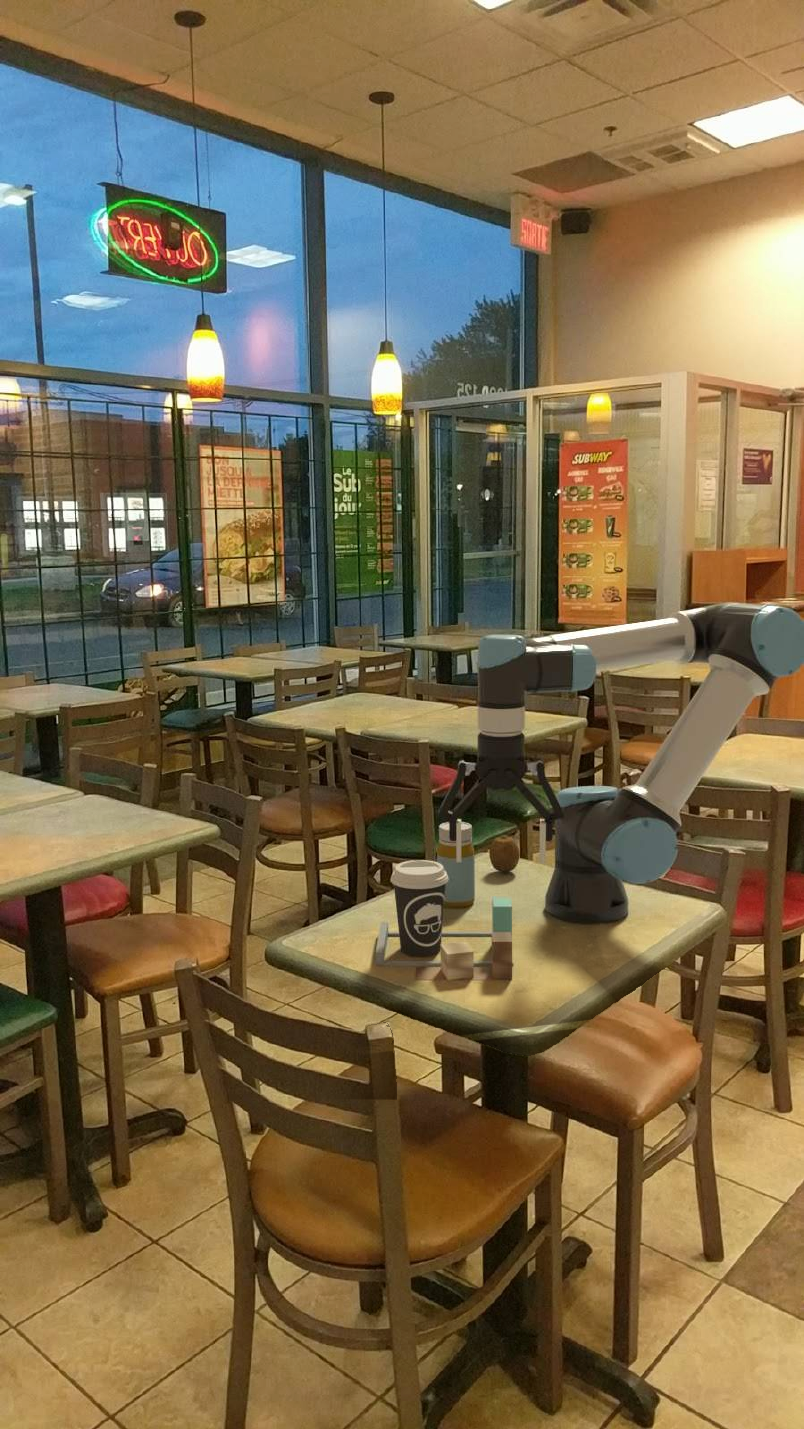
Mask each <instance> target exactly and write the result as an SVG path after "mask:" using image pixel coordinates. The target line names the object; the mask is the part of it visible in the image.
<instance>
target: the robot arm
mask: <svg viewBox="0 0 804 1429" xmlns="http://www.w3.org/2000/svg"><path fill="white" fill-rule="evenodd" d="M477 648H478V649H477V662H476V667H477V699H478V700H477V729H478V731H480V732H479V733H478V734H477V759H476V761H475V762H466V760H464V759H461V760H459V761H458V766H457V774H456V775H455V777H454V779H453V781H452V783H451V785H450V787H449V789H448V790H447V793H446V794H445V797H444V799H443V801H442V802H441V805H440V806H439V808H438V811H437V812H438V813H437V817H438V818H439V819H441V820H446V821H447V822H449V838H450V841H456V858H457V862H461V822H462V818H461V816H462V815H463V814H464V813H465V812H466V810H467V809H468V808H469V807H470V806H471V805H472V804H473V802H475V800H476V799H477V798H478V797H479V795H481V793H483V792H484V791H485V790H486V789H487V788H488V789H490V790H491V791H497V790H504V791H511V790H513V789H515V788H516V789H517V790H518V791H519V793H521V794H522V795H523V796H524V798H525V799H527V800H526V801H528V802H529V803H530V805H531V806H533V807H534V809H535V810H536V811H537V812H538V814H539V815H540V816H541V817H542V818H540V819H539V854H538V858H539V860H540V861H539V862H540V863H543V864H544V863H546V859H547V858H546V857H547V856H546V850H547V848H546V845H547V844H546V842H552V841H553V837H554V870H553V872H552V875H551V878H550V882H549V883H548V884H549V885H548V887H547V890H546V894H545V897H544V904H545V905H544V909H545V911H546V912H547V913H548V914H549V915H550V916H551V917H554V918H557V919H558V920H562V921H567V922H571V923H577V924H578V923H579V924H603V923H605V924H606V923H610V922H615V921H618V920H621V919H623V918H625V917H626V916H627V915H628V913H629V898H628V895H627V891H626V888H625V885H624V883H623V882H624V881H625V882H627V883H630V884H634V885H635V884H637V885H640V884H641V885H642V884H646V883H651V882H654V881H657V880H658V879H660V878H662V877H663V876H664V875H665V874H666V873H667V872H668V871H669V870H670V869H671V867H673V864H674V863H675V861H676V858H677V855H678V850H679V849H678V848H677V845H678V844H679V843H678V837H677V833H678V831H679V830H680V828H681V827H682V820H681V816H680V812H681V809H682V808H683V807H684V805H685V804H686V802H687V801H688V799H689V798H690V796H691V795H692V793H693V791H694V790H695V789H696V787H697V786H698V784H699V782H700V781H701V779H702V778H703V776H704V775H705V774H706V772H707V770H708V769H709V767H710V765H712V762H713V761H714V760H715V758H716V756H717V754H719V752H720V750H721V749H722V748H723V746H724V744H725V743H726V742H727V739H728V738H729V736H730V735H731V734H732V732H733V731H734V729H735V727H736V725H737V724H738V723H739V721H740V720H741V718H742V717H743V715H744V714H745V712H746V711H747V709H748V707H749V706H750V704H751V703H752V701H753V700H754V698H755V697H758V696H762V695H767V694H769V692H770V690H772V688H773V686H774V685H775V683H776V682H777V680H778V678H782V677H783V678H785V677H788V676H790V675H793V674H795V673H797V672H798V671H799V670H800V669H801V668H802V666H804V619H803V618H802V616H800V615H799V614H798V613H797V612H796V611H795V610H793V609H791V608H788V607H784V606H779V605H777V604H773V603H772V604H770V603H769V604H757V603H756V604H755V603H747V602H746V603H745V602H737V601H732V602H731V601H729V602H727V601H726V602H722V603H721V602H720V603H716V604H712V605H707V606H702V607H701V606H700V607H696V608H691V609H686V610H681V611H680V610H679V611H675V612H672V613H670V614H669V616H667V618H664V619H663V618H662V619H656V620H650V621H643V622H641V621H640V622H636V623H635V622H634V623H628V624H621V625H614V626H613V625H612V626H606V627H598V628H593V629H591V628H590V629H585V630H584V629H583V630H577V631H571V632H563V633H562V632H561V633H555V634H549V635H542V636H535V637H526V638H525V637H524V636H523V635H519V634H490V635H485V636H482V637H481V638H480V640H479V642H478V647H477ZM668 661H674V662H675V663H677V664H678V665H679V664H680V665H685V664H692V663H700V664H701V663H703V664H709V668H710V669H709V672H708V673H707V675H706V677H705V678H704V679H703V681H702V683H701V684H700V685H699V688H698V689H697V691H695V693H694V695H693V697H692V698H691V699H690V701H689V702H688V704H687V706H686V707H685V709H684V710H683V712H682V713H681V715H680V716H679V717H678V719H677V721H676V722H675V724H674V726H673V727H672V728H671V730H670V732H669V733H668V734H667V736H666V738H665V739H664V740H663V742H662V743H661V745H660V747H659V748H658V749H657V751H656V753H655V754H654V755H653V757H652V759H651V760H650V762H649V763H648V764H647V766H646V767H645V769H644V771H643V772H642V774H641V775H640V777H639V778H638V780H637V781H636V782H635V784H631V785H627V786H622V788H621V789H619V788H617V787H615V786H607V785H587V786H585V785H583V786H573V787H567V788H563V789H561V790H559V791H558V792H557V794H555V792H554V790H553V788H552V786H551V784H550V782H549V780H548V778H547V776H546V770H545V765H544V764H545V763H543V762H544V761H542V760H541V759H537V760H536V761H535V762H527V761H526V759H525V757H526V756H525V752H526V751H525V749H526V748H525V747H526V746H525V742H526V738H525V737H526V736H525V734H524V733H523V731H524V730H525V729H526V695H527V694H529V695H530V694H540V693H559V692H560V693H562V692H569V693H573V692H577V691H584V690H588V689H589V688H590V687H592V685H594V682H595V680H596V676H597V672H601V671H606V670H607V671H609V670H613V669H620V668H628V667H633V666H640V665H648V664H649V665H650V664H654V663H661V662H668ZM472 771H475V773H476V774H477V776H478V778H479V779H477V781H476V782H475V783H474V785H473V786H472V787H471V788H470V790H469V791H468V792H467V793H466V794H465V795H464V797H462V799H461V800H460V801H459V802H458V803H457V804H456V806H455V807H454V808H453V809H452V810H451V811H450V808H451V806H452V804H453V803H454V800H455V799H456V797H457V794H458V793H459V790H460V788H461V787H462V785H463V783H464V781H465V779H466V778H465V777H467V776H470V775H471V773H472ZM528 771H530V773H531V774H532V775H533V776H535V777H537V779H538V781H539V784H540V786H541V788H542V789H543V791H544V794H545V795H546V797H547V799H548V801H549V803H550V805H551V807H552V809H553V810H551V811H550V810H549V809H548V808H547V807H546V805H545V804H543V802H542V801H541V800H540V799H539V798H538V796H537V795H536V794H535V793H534V792H533V791H532V789H531V788H530V787H529V785H527V784H526V782H525V781H524V779H523V778H524V776H525V775H526V774H527V772H528ZM553 825H554V827H553ZM553 828H554V830H553ZM553 832H554V836H553Z"/></svg>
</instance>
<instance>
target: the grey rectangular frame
mask: <svg viewBox="0 0 804 1429" xmlns="http://www.w3.org/2000/svg"><path fill="white" fill-rule="evenodd" d="M491 899H492V901H491V903H492V906H491V907H492V911H491V912H492V913H491V914H492V919H491V920H492V923H491V924H492V931H442V937H492V932H511V937H512V938H513V905H512V898H511V897H505V896H504V897H500V896H499V897H496V896H495V897H491ZM389 937H399V931H389V921H381V922H380V926H379V933H378V937H377V942H376V947H375V948H376V949H375V966H377V967H441V960H439V961H437V960H435V961H434V960H432V961H431V960H430V961H429V960H426V961H425V960H423V961H422V960H421V961H420V960H419V961H418V960H417V961H416V960H414V961H413V960H405V961H404V960H402V961H401V960H400V961H398V960H392V961H391V960H385V957H386V953H387V952H386V951H387V945H388V940H389ZM474 967H492V960H490V961H487V960H486V961H484V960H482V961H480V960H479V961H478V960H474ZM512 967H514V958H513V957H512Z"/></svg>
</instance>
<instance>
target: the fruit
mask: <svg viewBox="0 0 804 1429" xmlns="http://www.w3.org/2000/svg"><path fill="white" fill-rule="evenodd" d="M488 853H489V854H488V856H489V860H490V863H491V865H492V867H493V868H494V869H495V871H498V872H500V873H501V874H507V873H510V872H511V871H513V870H515V868H517V866H518V864H519V861H520V853H521V852H520V848H519V844H518V843H517V841H516V840H515V838H513V837H511V836H507V835H506V834H503V835H501V836H499V837H495V838H494V839H493V840H492V842H491V844H490V846H489V852H488Z"/></svg>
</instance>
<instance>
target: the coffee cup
mask: <svg viewBox="0 0 804 1429" xmlns="http://www.w3.org/2000/svg"><path fill="white" fill-rule="evenodd" d="M448 880H449V878H448V875H447V873H446V871H445V870H444V867H443V865H442V864H440V863H438V862H437V861H433V860H427V859H426V860H425V859H416V860H415V859H413V860H406V861H402V862H400V863H398V864H396V865H395V868H394V871H393V872H392V874H391V876H390V883H392V884H393V889H394V899H395V906H396V918H397V925H398V927H397V929H398V932H399V936H398V937H399V945H400V952H401V953H402V954H403V955H404V956H408V957H411V958H412V957H413V958H428V957H433V956H436V955H437V954H439V953H441V945H440V944H442V937H443V936H442V932H443V923H444V922H443V921H444V920H443V919H444V910H445V908H444V907H445V906H444V897H445V885H446V883H447V882H448Z"/></svg>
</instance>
